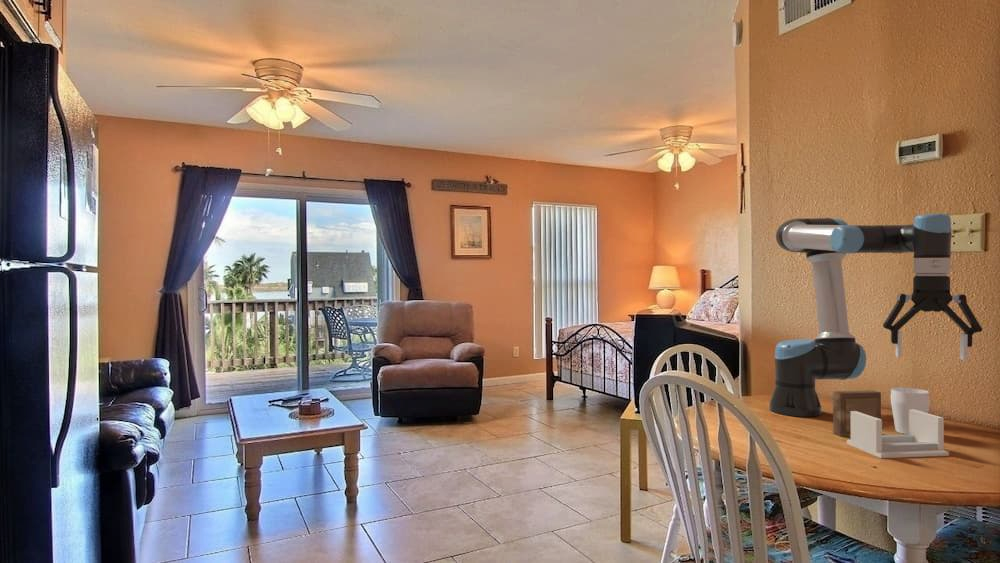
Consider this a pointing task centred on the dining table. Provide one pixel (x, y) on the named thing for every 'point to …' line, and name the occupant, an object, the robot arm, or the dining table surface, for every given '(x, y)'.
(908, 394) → the cup
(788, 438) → the dining table surface
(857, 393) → the door panel
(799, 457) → the dining table surface
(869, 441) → the track frame
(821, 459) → the dining table surface
